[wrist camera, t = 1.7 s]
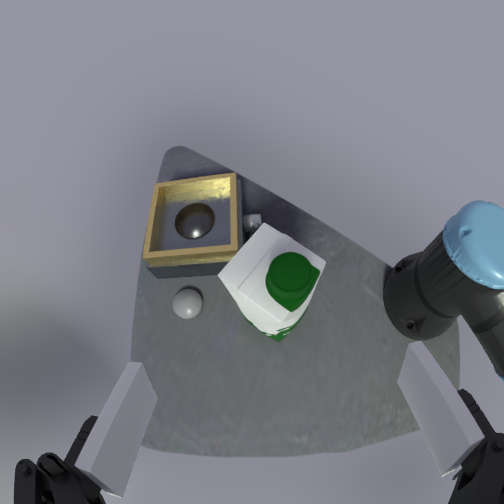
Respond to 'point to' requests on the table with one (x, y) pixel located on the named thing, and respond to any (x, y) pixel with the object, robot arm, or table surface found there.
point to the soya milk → (272, 281)
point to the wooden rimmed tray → (196, 226)
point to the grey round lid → (187, 304)
